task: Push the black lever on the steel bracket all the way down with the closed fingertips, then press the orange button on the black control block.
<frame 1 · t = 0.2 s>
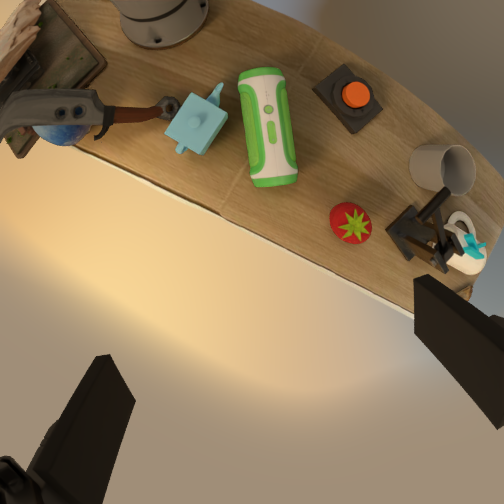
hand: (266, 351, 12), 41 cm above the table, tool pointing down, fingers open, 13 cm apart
speaker: (265, 129, 48), on the table
oyster shell: (445, 291, 57), point 2 cm above the table
control block: (346, 99, 47), on the table
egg: (103, 141, 47), on the table, touching knife, tank diorama
button: (355, 94, 43), point 5 cm above the table, slide at 0.1 cm
knife: (178, 122, 47), on the table, touching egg
bracket: (408, 232, 54), on the table
teapot: (203, 122, 47), on the table
cup: (426, 166, 51), on the table
lever: (440, 231, 39), point 15 cm above the table, hinge at 28.0°
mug: (456, 238, 55), on the table
broken wood plank: (16, 46, 34), point 7 cm above the table, touching tank diorama
strawberry: (339, 216, 53), on the table
tank diorama: (27, 80, 42), on the table, touching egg, broken wood plank
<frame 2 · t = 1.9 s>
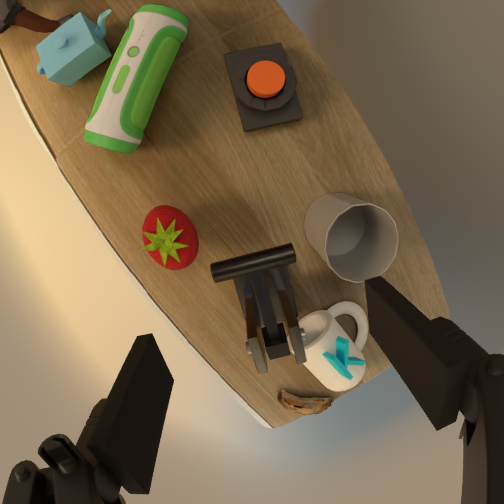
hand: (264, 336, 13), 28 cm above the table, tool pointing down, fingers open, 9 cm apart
speaker: (144, 84, 34), on the table
oyster shell: (288, 388, 46), point 2 cm above the table
control block: (262, 88, 35), on the table
button: (265, 79, 31), point 5 cm above the table, slide at 0.1 cm
knife: (70, 46, 31), on the table, touching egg
bracket: (265, 294, 43), on the table
teapot: (91, 53, 32), on the table
cup: (334, 223, 41), on the table
lever: (267, 311, 27), point 15 cm above the table, hinge at 28.0°
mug: (335, 335, 45), on the table
strawberry: (179, 227, 40), on the table
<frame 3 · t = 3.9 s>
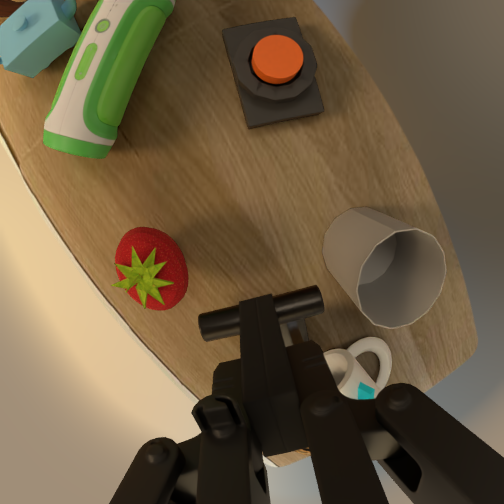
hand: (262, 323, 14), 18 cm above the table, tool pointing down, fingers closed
speaker: (121, 70, 26), on the table
control block: (270, 73, 27), on the table
button: (276, 59, 22), point 5 cm above the table, slide at 0.1 cm
knife: (38, 31, 23), on the table, touching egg
bracket: (273, 330, 34), on the table
teapot: (60, 37, 24), on the table
cup: (359, 245, 32), on the table
lever: (279, 373, 19), point 14 cm above the table, hinge at 22.1°, touching gripper
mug: (354, 373, 37), on the table
strawberry: (165, 250, 31), on the table
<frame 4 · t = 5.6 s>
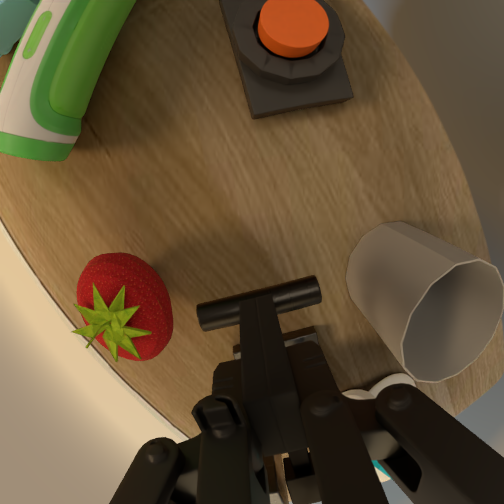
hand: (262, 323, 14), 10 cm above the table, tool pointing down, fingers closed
speaker: (91, 49, 19), on the table
control block: (281, 48, 20), on the table
button: (292, 25, 15), point 5 cm above the table, slide at 0.1 cm
bracket: (282, 371, 27), on the table
teapot: (26, 16, 16), on the table
cup: (390, 269, 25), on the table
lever: (287, 412, 16), point 10 cm above the table, hinge at -15.7°, touching gripper
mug: (373, 411, 30), on the table
strawberry: (146, 276, 24), on the table
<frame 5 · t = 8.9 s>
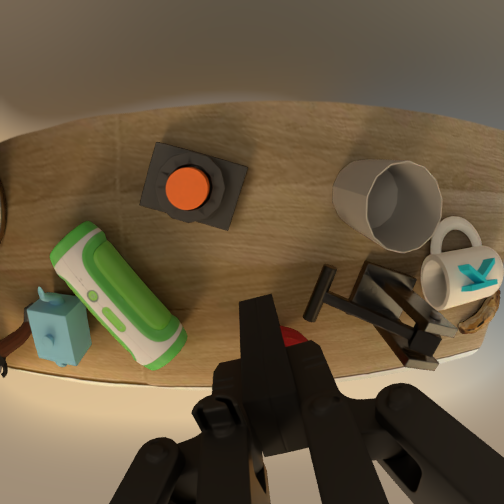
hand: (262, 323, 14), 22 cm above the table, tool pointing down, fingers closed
speaker: (127, 284, 37), on the table
oyster shell: (462, 321, 40), point 2 cm above the table
control block: (194, 184, 34), on the table
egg: (19, 357, 40), on the table, touching knife, tank diorama
button: (188, 187, 30), point 5 cm above the table, slide at 0.1 cm
knife: (54, 321, 38), on the table, touching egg
bracket: (379, 293, 39), on the table
teapot: (71, 308, 38), on the table
cup: (364, 194, 35), on the table
lever: (376, 318, 29), point 9 cm above the table, hinge at -27.7°
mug: (453, 253, 38), on the table
strawberry: (274, 329, 40), on the table
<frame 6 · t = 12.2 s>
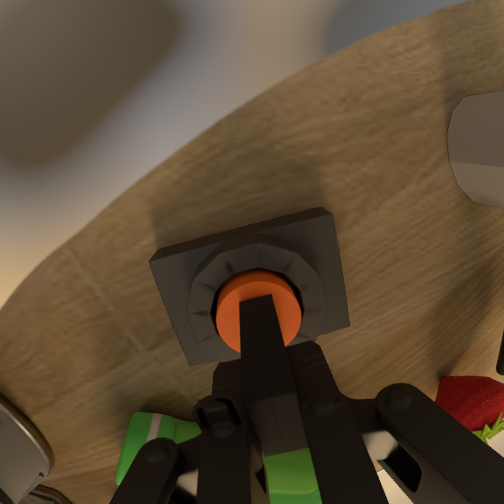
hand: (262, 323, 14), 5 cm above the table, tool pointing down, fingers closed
speaker: (235, 441, 24), on the table
control block: (253, 282, 19), on the table
button: (257, 311, 16), point 4 cm above the table, slide at -0.7 cm, touching gripper
cup: (484, 149, 18), on the table
strawberry: (443, 379, 23), on the table
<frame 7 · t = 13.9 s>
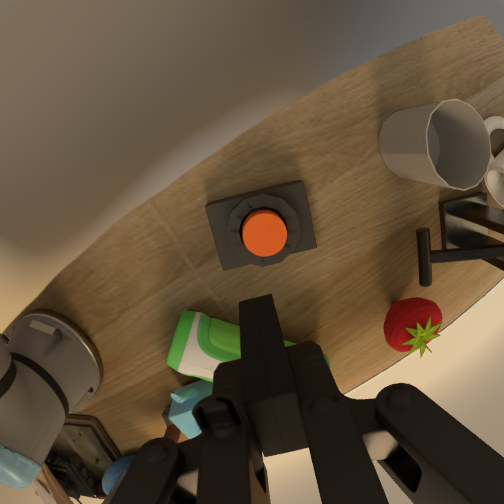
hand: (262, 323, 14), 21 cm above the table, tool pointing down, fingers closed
speaker: (247, 342, 38), on the table
control block: (261, 222, 34), on the table
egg: (173, 454, 45), on the table, touching knife, tank diorama
button: (264, 232, 30), point 5 cm above the table, slide at 0.1 cm
knife: (195, 409, 41), on the table, touching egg
bracket: (463, 222, 35), on the table
teapot: (205, 390, 40), on the table
cup: (409, 144, 32), on the table
lever: (480, 252, 26), point 9 cm above the table, hinge at -27.7°
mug: (501, 151, 32), on the table
broken wood plank: (43, 468, 39), point 7 cm above the table, touching tank diorama
strawberry: (394, 304, 38), on the table
tank diorama: (77, 458, 46), on the table, touching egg, broken wood plank
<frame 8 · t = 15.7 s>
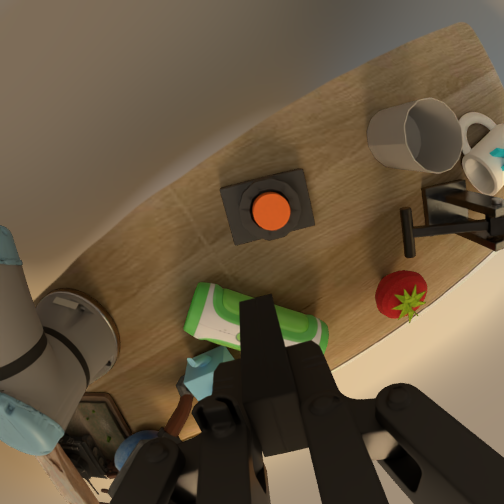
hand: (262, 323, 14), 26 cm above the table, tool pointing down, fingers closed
speaker: (254, 313, 44), on the table
control block: (266, 204, 39), on the table
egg: (184, 429, 50), on the table, touching knife, tank diorama
button: (270, 210, 35), point 5 cm above the table, slide at 0.1 cm
knife: (207, 380, 46), on the table, touching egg
bracket: (444, 206, 40), on the table
teapot: (215, 360, 45), on the table
cup: (393, 138, 38), on the table
lever: (457, 227, 32), point 9 cm above the table, hinge at -27.7°
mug: (479, 143, 38), on the table
broken wood plank: (55, 449, 43), point 7 cm above the table, touching tank diorama
strawberry: (384, 279, 43), on the table
tank diorama: (87, 439, 51), on the table, touching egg, broken wood plank
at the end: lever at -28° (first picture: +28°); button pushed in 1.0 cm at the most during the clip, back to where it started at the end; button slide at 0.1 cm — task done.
